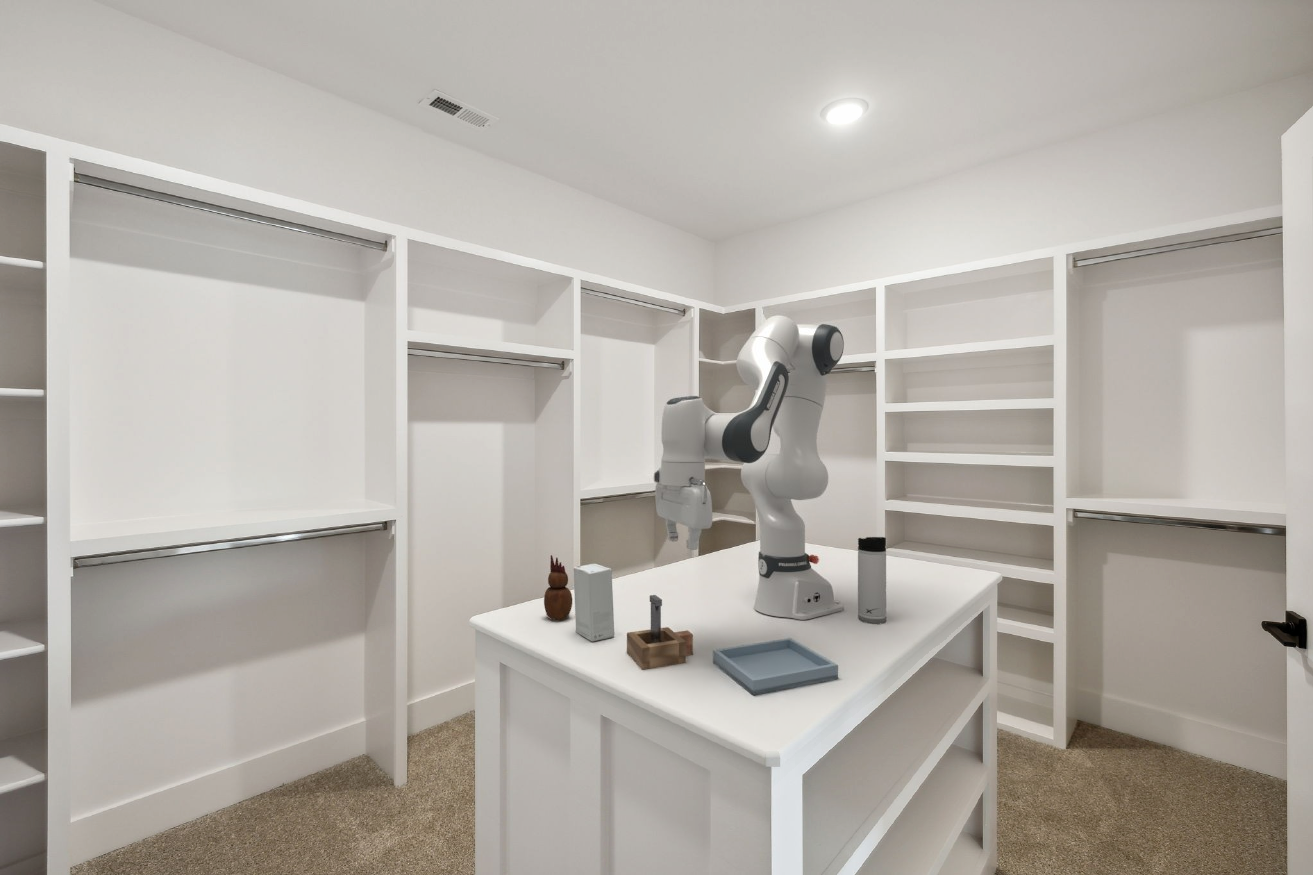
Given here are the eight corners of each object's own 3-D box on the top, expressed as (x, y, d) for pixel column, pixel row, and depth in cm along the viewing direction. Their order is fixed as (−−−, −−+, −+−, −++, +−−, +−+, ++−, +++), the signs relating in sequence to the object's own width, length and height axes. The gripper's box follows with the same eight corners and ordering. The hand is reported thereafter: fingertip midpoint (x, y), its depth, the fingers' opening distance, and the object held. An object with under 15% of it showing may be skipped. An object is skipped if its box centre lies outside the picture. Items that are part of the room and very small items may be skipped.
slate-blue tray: (790, 650, 115) (790, 637, 115) (838, 678, 101) (838, 664, 101) (713, 663, 108) (713, 650, 108) (753, 695, 95) (753, 680, 95)
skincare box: (614, 637, 122) (614, 569, 122) (589, 643, 119) (589, 572, 119) (597, 626, 129) (596, 561, 129) (572, 631, 126) (572, 565, 126)
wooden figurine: (539, 618, 135) (539, 555, 135) (559, 612, 140) (559, 552, 140) (557, 624, 131) (556, 559, 131) (576, 618, 135) (576, 555, 135)
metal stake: (661, 652, 114) (661, 593, 114) (669, 659, 110) (668, 599, 110) (642, 655, 112) (642, 595, 112) (649, 662, 108) (649, 601, 108)
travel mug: (872, 626, 129) (872, 538, 129) (852, 617, 135) (852, 534, 135) (893, 622, 132) (893, 536, 132) (872, 614, 138) (872, 532, 138)
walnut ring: (681, 644, 118) (681, 625, 118) (700, 660, 110) (700, 639, 110) (626, 652, 114) (626, 632, 114) (642, 669, 105) (642, 648, 105)
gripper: (721, 479, 105) (720, 553, 105) (677, 473, 124) (676, 536, 124) (690, 480, 103) (689, 556, 103) (650, 473, 122) (649, 537, 122)
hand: (682, 545), depth 113 cm, fingers open, 8 cm apart
